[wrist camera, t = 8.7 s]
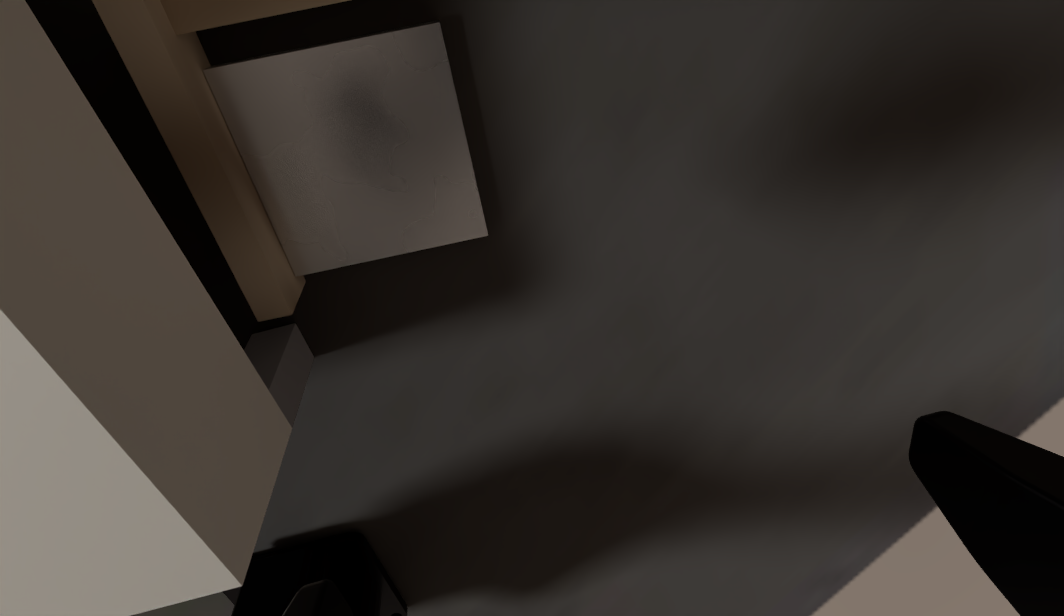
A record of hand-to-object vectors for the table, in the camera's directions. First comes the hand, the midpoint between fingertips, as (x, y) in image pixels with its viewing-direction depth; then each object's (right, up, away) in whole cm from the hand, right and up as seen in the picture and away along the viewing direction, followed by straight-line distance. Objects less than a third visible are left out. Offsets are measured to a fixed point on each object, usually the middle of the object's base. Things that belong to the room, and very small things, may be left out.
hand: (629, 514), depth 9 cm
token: (-6, +8, +8) cm, 13 cm away
